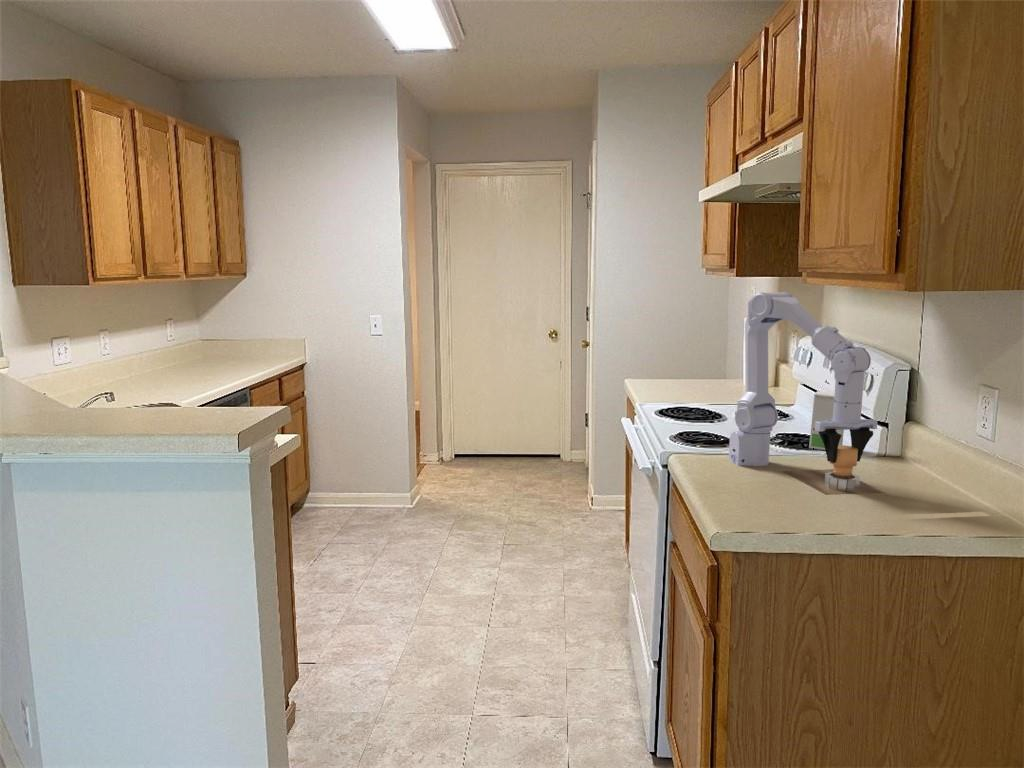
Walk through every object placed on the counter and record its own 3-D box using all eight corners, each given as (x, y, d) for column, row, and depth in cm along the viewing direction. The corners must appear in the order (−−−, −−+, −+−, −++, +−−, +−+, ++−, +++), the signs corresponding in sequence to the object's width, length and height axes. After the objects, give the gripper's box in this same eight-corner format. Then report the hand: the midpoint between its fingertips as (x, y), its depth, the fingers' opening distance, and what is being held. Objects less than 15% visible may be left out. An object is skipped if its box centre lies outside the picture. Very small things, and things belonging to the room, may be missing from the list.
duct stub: (835, 491, 170) (836, 480, 170) (818, 482, 177) (819, 472, 177) (865, 490, 171) (866, 479, 171) (847, 481, 178) (848, 471, 178)
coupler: (839, 477, 171) (841, 451, 170) (823, 471, 176) (825, 445, 175) (861, 476, 172) (863, 450, 171) (845, 470, 177) (847, 444, 176)
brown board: (825, 497, 168) (825, 494, 168) (781, 474, 188) (781, 470, 188) (884, 495, 170) (884, 492, 170) (835, 472, 190) (835, 469, 190)
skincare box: (808, 448, 215) (812, 393, 213) (812, 444, 221) (815, 390, 218) (840, 452, 211) (845, 396, 209) (843, 447, 217) (847, 393, 214)
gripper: (830, 405, 166) (825, 467, 168) (888, 403, 169) (883, 463, 171) (810, 400, 173) (806, 459, 175) (867, 398, 176) (862, 456, 178)
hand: (843, 461), depth 174 cm, fingers closed on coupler, 6 cm apart
